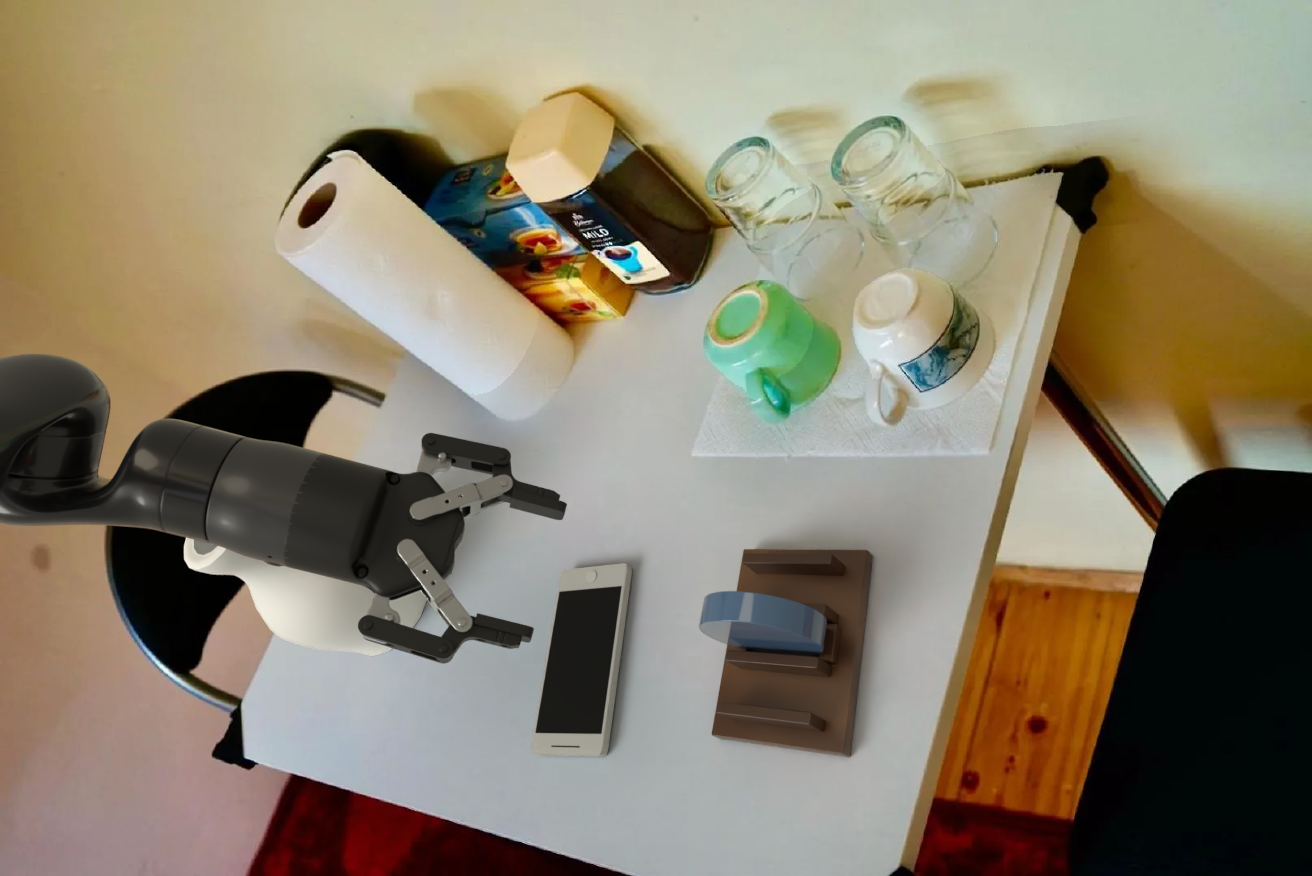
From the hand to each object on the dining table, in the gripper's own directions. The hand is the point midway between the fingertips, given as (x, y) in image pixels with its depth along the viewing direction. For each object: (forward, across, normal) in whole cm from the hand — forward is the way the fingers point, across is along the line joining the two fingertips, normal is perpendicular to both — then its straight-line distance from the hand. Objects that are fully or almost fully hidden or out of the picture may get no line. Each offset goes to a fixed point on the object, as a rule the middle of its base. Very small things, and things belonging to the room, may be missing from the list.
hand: (548, 571), depth 59 cm
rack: (+19, 0, +4) cm, 19 cm away
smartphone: (+5, -2, +17) cm, 18 cm away
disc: (+15, 0, 0) cm, 15 cm away
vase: (-14, +2, +36) cm, 39 cm away
